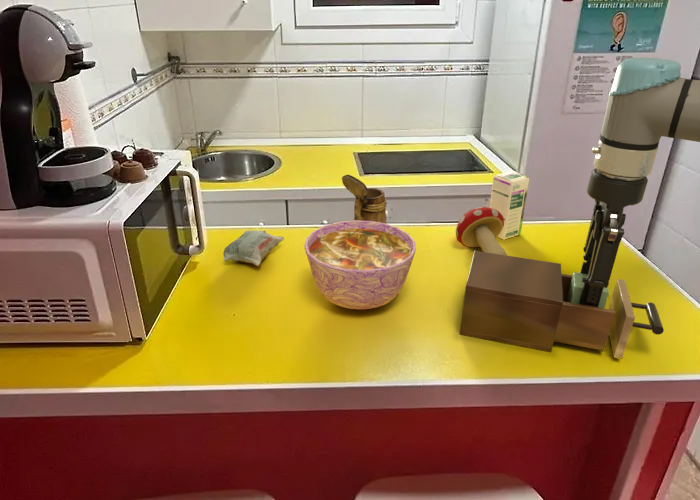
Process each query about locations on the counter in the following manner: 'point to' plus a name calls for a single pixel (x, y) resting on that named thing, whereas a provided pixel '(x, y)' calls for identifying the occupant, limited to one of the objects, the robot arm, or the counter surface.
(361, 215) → the wooden mug
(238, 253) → the packaged food
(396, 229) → the bowl of food
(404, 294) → the counter surface
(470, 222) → the decorative mushroom
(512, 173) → the syrup box
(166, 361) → the counter surface
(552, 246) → the counter surface
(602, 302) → the block
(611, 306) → the drawer
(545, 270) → the cabinet
